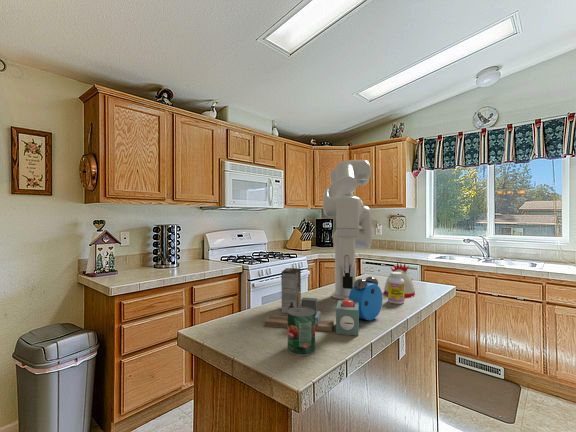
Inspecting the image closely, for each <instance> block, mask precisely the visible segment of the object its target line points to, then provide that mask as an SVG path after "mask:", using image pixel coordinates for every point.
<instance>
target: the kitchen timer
mask: <svg viewBox="0 0 576 432" xmlns="http://www.w3.org/2000/svg"><path fill="white" fill-rule="evenodd" d="M393 267H394V268H393ZM393 267H391V266H390V268H391V272H401V273H402V279H403V280H404V298H412V297H411V296H413V297H415V296H416V289H415V287H414V282H413V278H411V277H410V274H408V272H407V271H408V269H409V265H408V266H407V265H406V263H404V264H403V265H402V263H400V265H399V262H397V263H396V265H395V264H393ZM389 278H391V273H389V275H388V277H387V278H386V282H385V285H384V288H383V289H384V290H383V292H384V294H385V295H387V294H388V280H389ZM414 295H415V296H414Z"/></svg>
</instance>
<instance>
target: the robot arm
mask: <svg viewBox="0 0 576 432" xmlns="http://www.w3.org/2000/svg"><path fill="white" fill-rule="evenodd" d="M371 176H372V166H371V163H370V162H369V160H366V159H348V160H341V161H340V162H338V163H337V165H336V166H335V167H334V168H332V169H331V170H330V173H329V177H330V183H331V184H329V185H328V186H327V187H326V189H325V190H324V192H323V196H322V197H323V199H322V212H323V213H324V216H325V217H327V218H335V223H336V224H335V225H336V227H335V228H336V229H335V231H334V232H333V234H332V238H333V239H332V240H333V242H332V243H333V247H334V248H333V249H334V282H335V283H334V291H332V293H331V297H332V298H333V299H336V300H341V301H342V300H346V299H348V300H349V295H350V291H351V289H352V288H353V286H354V282H355V281H356V280H357V267H356V266H357V261H356V250H369V249H370V248H371V247H372V243H373V236H372V235H373V231H372V230H373V229H372V228H373V227H372V212H371V209H370V207H369V206H368V205H364V201H362V199H361V198H360V197H359V196H355V194H354V192H355V191H356V190H357V188H358V186H365V185H367V184H368V183H369V181H370V180H371Z"/></svg>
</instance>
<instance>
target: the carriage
mask: <svg viewBox="0 0 576 432" xmlns="http://www.w3.org/2000/svg"><path fill="white" fill-rule="evenodd" d="M301 307H308V308H312V309H314V310H315V325H318V324H319V321H320V319H322V312H321V311H320V310H318V298H316V297H301Z"/></svg>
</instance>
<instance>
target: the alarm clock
mask: <svg viewBox="0 0 576 432" xmlns="http://www.w3.org/2000/svg"><path fill="white" fill-rule="evenodd" d="M383 299H384V298H383V292H382V290H381V287H380V286H379V280H378V279H377V278H376V277H374V276H368V277H366V278H365V279H364V278H356V281H355V282H354V286H353V288H352V289H351V291H350V295H349V300H353V301H357V302H359V319H363V320H366V321H374V320H375V319H376V318H377V317H378V316H379V314H380V312H381V309H382V306H383Z"/></svg>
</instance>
